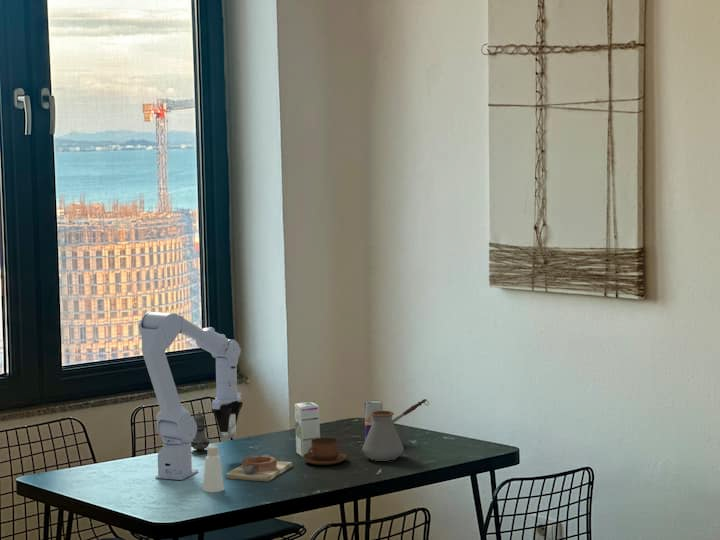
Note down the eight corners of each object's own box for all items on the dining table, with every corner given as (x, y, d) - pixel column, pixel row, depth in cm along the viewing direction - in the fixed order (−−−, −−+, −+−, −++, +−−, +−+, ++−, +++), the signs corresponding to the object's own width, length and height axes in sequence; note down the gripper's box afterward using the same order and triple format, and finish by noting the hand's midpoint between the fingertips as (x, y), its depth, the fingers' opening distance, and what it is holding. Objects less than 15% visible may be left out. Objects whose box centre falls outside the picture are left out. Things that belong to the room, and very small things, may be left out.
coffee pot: (377, 465, 307) (376, 411, 306) (354, 457, 316) (353, 404, 315) (440, 454, 318) (439, 401, 317) (416, 446, 328) (415, 395, 327)
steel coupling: (231, 438, 313) (231, 413, 312) (217, 437, 314) (216, 413, 314) (238, 435, 317) (238, 410, 316) (224, 434, 318) (223, 410, 318)
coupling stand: (267, 481, 293) (267, 468, 292) (225, 478, 297) (225, 465, 296) (292, 466, 308) (291, 454, 307) (251, 463, 312) (251, 451, 311)
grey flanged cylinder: (200, 455, 322) (198, 414, 321) (185, 453, 325) (184, 412, 324) (214, 451, 326) (213, 410, 325) (200, 449, 330) (199, 408, 329)
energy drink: (362, 440, 337) (362, 400, 336) (380, 439, 339) (379, 399, 338) (368, 444, 332) (367, 403, 331) (385, 442, 334) (385, 402, 333)
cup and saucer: (335, 469, 304) (334, 447, 304) (295, 465, 309) (295, 443, 309) (354, 459, 315) (353, 437, 315) (315, 455, 320) (315, 434, 320)
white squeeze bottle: (209, 493, 282) (208, 450, 281) (198, 489, 286) (197, 446, 285) (228, 490, 285) (227, 447, 284) (217, 485, 289) (216, 443, 288)
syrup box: (321, 455, 319) (320, 404, 318) (301, 457, 317) (300, 406, 316) (314, 451, 325) (313, 401, 324) (295, 453, 323) (293, 403, 322)
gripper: (228, 386, 306) (229, 436, 307) (250, 377, 320) (251, 425, 321) (204, 385, 309) (206, 434, 310) (228, 376, 322) (229, 424, 323)
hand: (227, 430), depth 315 cm, fingers closed on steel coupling, 4 cm apart
